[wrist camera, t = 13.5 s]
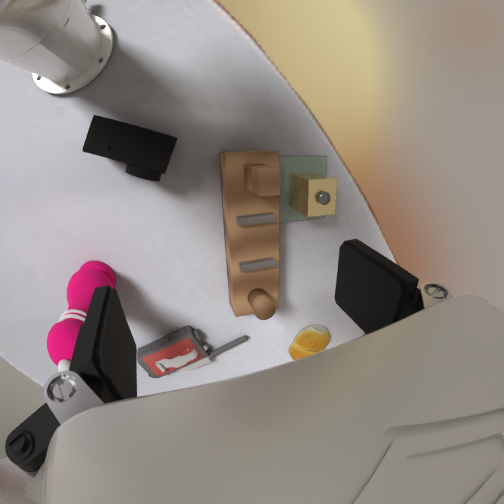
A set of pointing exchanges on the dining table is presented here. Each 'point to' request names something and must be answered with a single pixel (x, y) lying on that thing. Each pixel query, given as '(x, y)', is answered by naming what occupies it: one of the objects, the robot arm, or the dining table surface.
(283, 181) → the felt pad
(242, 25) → the dining table surface
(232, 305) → the plane body
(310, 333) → the bread roll
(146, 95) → the dining table surface
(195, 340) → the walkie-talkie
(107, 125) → the digital camera
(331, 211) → the lever cap
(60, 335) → the pepper mill
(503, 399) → the robot arm
